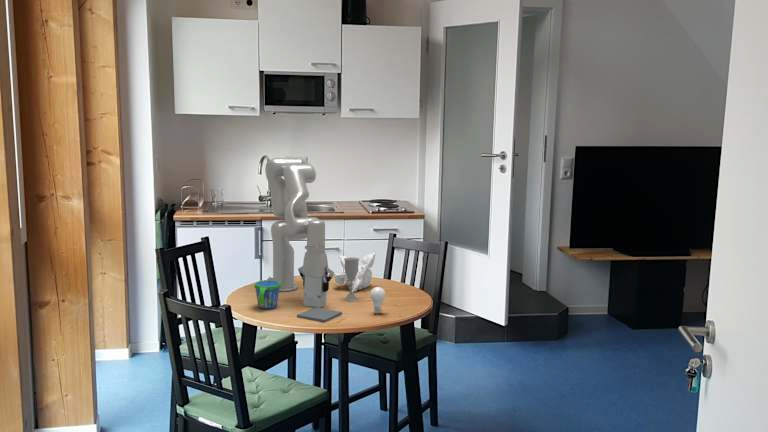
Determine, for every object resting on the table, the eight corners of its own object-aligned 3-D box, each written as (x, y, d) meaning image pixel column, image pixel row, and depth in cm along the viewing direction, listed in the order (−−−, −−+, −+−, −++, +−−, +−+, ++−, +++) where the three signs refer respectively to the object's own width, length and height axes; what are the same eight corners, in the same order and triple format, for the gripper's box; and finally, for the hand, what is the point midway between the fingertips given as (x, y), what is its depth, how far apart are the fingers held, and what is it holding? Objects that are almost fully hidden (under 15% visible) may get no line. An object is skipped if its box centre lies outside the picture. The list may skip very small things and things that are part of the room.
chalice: (356, 302, 285) (357, 261, 283) (341, 301, 286) (341, 260, 284) (360, 298, 292) (361, 257, 290) (345, 296, 294) (346, 256, 291)
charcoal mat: (296, 317, 261) (296, 314, 261) (315, 309, 272) (315, 307, 272) (324, 322, 255) (324, 319, 255) (342, 314, 267) (342, 311, 266)
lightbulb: (373, 316, 265) (373, 289, 263) (367, 312, 270) (367, 285, 269) (387, 314, 267) (388, 288, 266) (381, 310, 273) (382, 284, 271)
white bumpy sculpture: (377, 263, 323) (375, 248, 305) (377, 302, 315) (374, 289, 297) (339, 263, 324) (334, 248, 306) (338, 303, 316) (332, 290, 298)
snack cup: (271, 313, 265) (271, 288, 264) (247, 311, 268) (247, 286, 267) (286, 303, 280) (286, 280, 279) (263, 301, 283) (263, 278, 282)
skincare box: (303, 305, 278) (303, 271, 276) (310, 302, 283) (310, 268, 281) (321, 308, 275) (321, 273, 273) (327, 304, 280) (328, 270, 278)
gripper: (293, 249, 276) (293, 289, 278) (328, 252, 268) (328, 294, 270) (303, 246, 283) (303, 285, 285) (338, 250, 275) (338, 290, 277)
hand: (315, 289), depth 278 cm, fingers open, 9 cm apart
